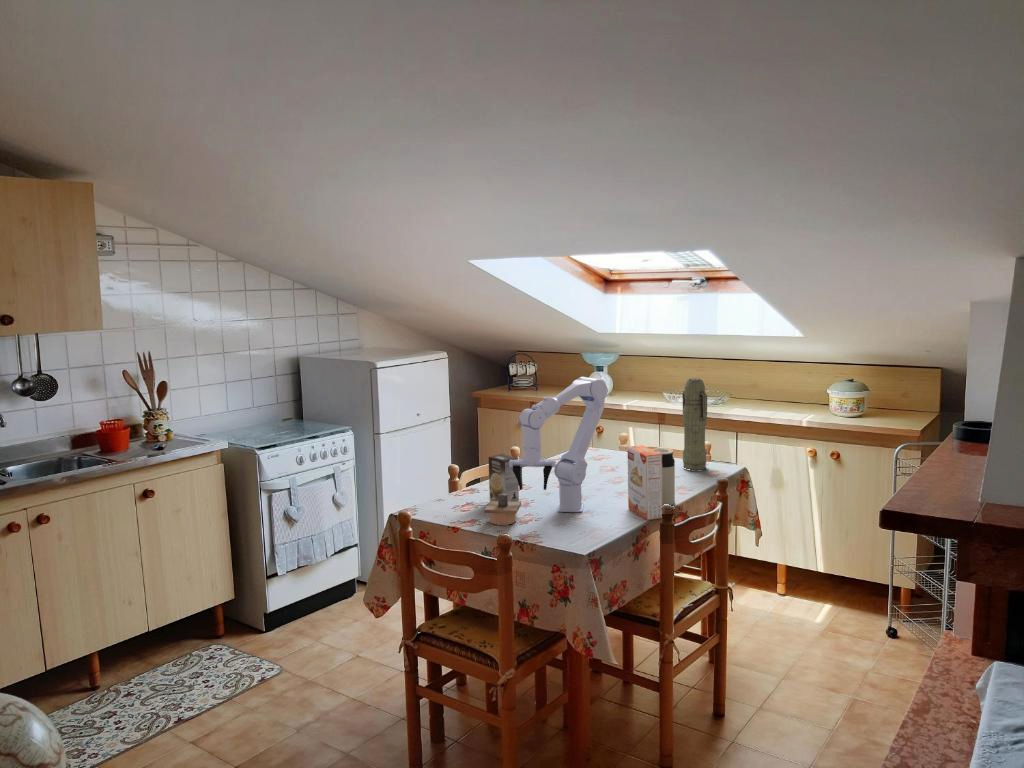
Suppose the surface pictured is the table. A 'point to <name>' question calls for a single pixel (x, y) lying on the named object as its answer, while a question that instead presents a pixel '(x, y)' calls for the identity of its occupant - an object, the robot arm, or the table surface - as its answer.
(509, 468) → the coffee box
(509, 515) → the terracotta bowl
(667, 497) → the travel mug
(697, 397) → the thermos
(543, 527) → the table surface
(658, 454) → the cracker box
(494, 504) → the walnut lid
